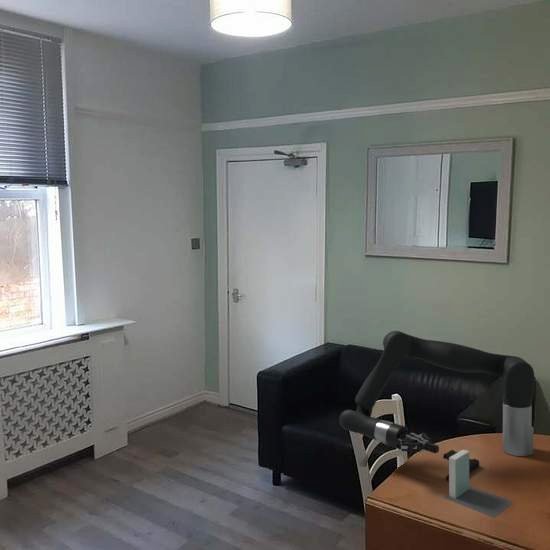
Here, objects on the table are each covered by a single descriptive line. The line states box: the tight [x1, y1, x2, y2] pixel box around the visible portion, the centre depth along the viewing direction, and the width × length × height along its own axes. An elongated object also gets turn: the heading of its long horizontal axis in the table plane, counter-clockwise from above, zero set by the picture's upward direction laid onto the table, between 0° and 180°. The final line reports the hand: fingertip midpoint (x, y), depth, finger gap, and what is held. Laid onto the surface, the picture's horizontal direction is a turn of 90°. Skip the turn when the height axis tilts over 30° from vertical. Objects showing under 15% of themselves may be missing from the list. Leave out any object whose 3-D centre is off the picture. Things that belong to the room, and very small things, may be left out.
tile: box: [448, 449, 470, 498], centre depth 169 cm, size 2×8×12 cm, turn 132°
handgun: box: [442, 449, 480, 482], centre depth 186 cm, size 3×19×12 cm
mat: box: [442, 485, 515, 518], centre depth 166 cm, size 16×12×1 cm
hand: (437, 449), depth 174 cm, fingers closed
